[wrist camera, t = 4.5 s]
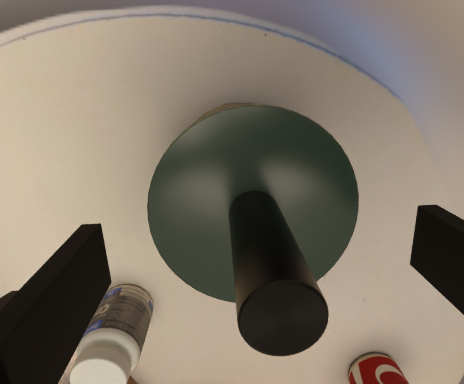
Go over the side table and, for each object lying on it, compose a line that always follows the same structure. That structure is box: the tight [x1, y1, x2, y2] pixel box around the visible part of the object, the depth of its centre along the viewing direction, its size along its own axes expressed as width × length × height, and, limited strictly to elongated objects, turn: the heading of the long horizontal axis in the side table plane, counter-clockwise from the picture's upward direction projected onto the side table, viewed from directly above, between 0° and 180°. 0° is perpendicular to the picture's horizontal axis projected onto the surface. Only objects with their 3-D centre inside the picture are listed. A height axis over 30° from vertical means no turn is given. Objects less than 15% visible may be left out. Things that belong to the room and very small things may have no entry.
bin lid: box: [147, 105, 359, 356], centre depth 14 cm, size 11×11×9 cm
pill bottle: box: [69, 285, 153, 384], centre depth 27 cm, size 5×5×8 cm
